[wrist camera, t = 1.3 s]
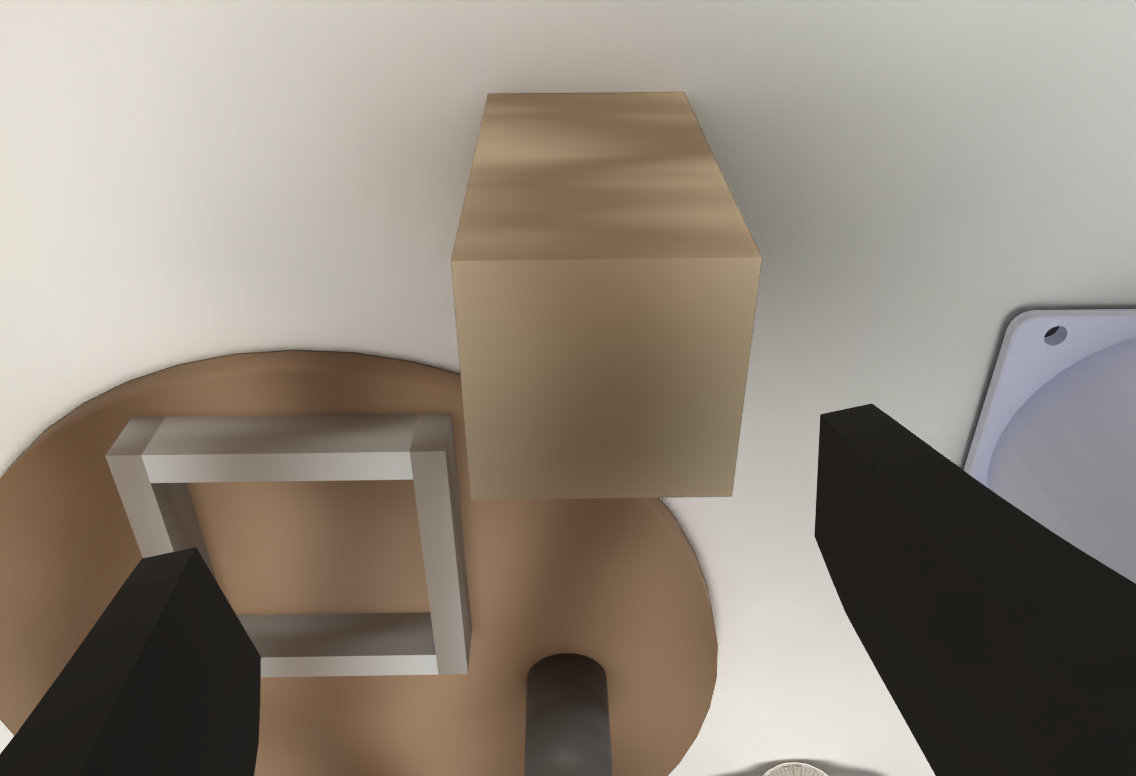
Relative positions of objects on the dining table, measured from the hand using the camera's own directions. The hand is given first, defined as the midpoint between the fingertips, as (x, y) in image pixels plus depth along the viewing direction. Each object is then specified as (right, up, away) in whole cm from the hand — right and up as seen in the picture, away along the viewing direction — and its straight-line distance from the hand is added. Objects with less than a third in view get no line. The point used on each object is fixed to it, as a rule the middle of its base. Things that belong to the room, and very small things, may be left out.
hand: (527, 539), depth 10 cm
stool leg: (+1, +6, +9) cm, 11 cm away
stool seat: (-6, -7, +17) cm, 19 cm away
